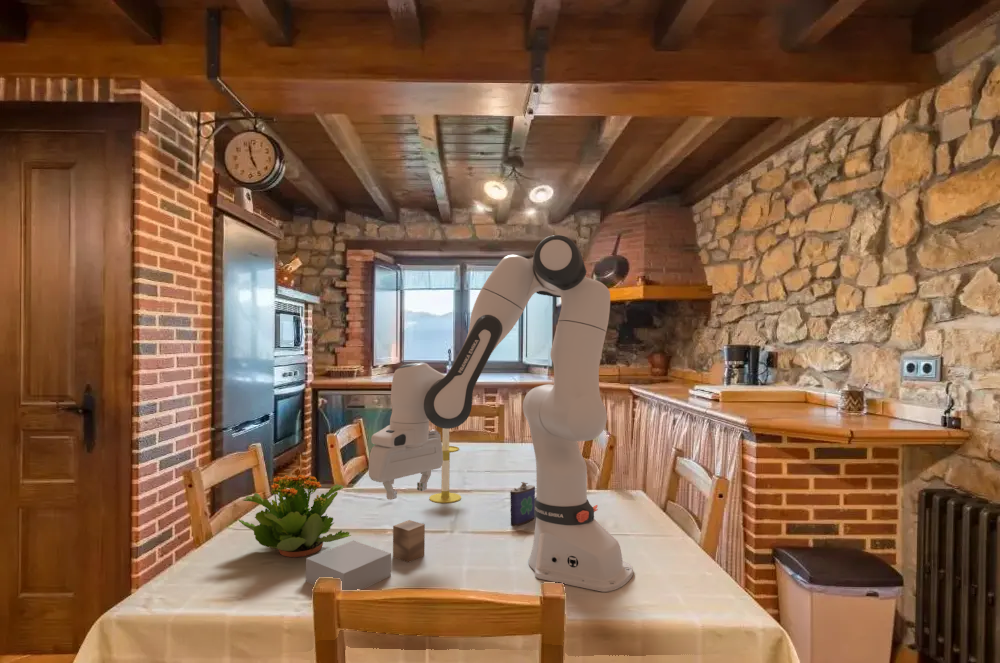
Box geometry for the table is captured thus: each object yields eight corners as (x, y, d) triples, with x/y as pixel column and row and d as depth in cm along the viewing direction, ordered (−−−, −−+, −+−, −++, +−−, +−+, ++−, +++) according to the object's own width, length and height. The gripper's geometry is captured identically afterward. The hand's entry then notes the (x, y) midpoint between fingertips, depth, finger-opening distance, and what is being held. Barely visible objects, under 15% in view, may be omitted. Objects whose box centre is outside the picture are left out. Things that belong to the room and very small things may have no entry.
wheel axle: (467, 499, 166) (468, 393, 166) (440, 505, 159) (441, 395, 160) (449, 491, 173) (450, 391, 174) (422, 497, 167) (423, 393, 167)
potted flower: (376, 542, 130) (377, 469, 130) (304, 582, 109) (305, 495, 109) (298, 526, 140) (299, 459, 141) (218, 560, 119) (219, 481, 119)
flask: (529, 516, 150) (530, 477, 150) (538, 518, 148) (538, 479, 148) (508, 524, 143) (508, 484, 143) (516, 527, 141) (516, 486, 141)
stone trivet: (390, 577, 112) (391, 553, 112) (343, 600, 102) (343, 573, 102) (353, 563, 119) (353, 540, 119) (305, 582, 109) (306, 558, 109)
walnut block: (424, 555, 123) (424, 524, 123) (408, 562, 119) (408, 530, 119) (408, 550, 126) (409, 520, 126) (392, 556, 121) (393, 525, 122)
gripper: (430, 427, 133) (428, 483, 132) (365, 437, 116) (362, 501, 116) (449, 430, 129) (448, 487, 129) (384, 440, 113) (382, 507, 112)
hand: (407, 494), depth 122 cm, fingers open, 8 cm apart
